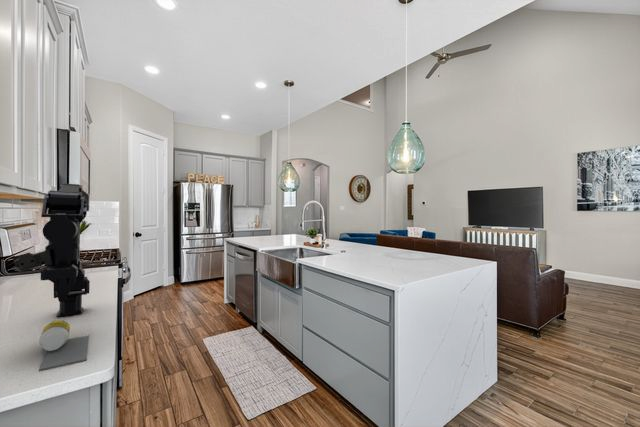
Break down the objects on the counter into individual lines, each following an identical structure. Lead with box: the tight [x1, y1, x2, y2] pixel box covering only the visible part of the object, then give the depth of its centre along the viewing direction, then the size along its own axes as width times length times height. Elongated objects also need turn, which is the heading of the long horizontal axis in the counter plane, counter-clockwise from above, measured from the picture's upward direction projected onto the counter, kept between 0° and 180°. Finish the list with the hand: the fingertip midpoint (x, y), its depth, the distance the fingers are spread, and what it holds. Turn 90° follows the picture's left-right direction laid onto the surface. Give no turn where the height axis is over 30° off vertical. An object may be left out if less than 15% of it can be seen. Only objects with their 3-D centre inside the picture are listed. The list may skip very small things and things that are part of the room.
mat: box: [38, 335, 90, 372], centre depth 70 cm, size 16×8×1 cm, turn 38°
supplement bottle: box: [38, 319, 71, 351], centre depth 73 cm, size 5×5×10 cm
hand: (61, 301), depth 73 cm, fingers closed
